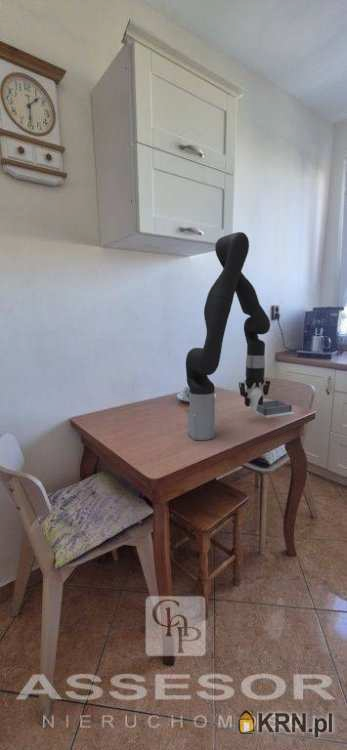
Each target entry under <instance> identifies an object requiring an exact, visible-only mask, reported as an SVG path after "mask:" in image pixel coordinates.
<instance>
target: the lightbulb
mask: <svg viewBox="0 0 347 750" xmlns="http://www.w3.org/2000/svg"><path fill="white" fill-rule="evenodd" d="M248 390H250V389H249V388H248ZM247 394H248V392H247ZM261 395H262V391H261V389H260V388H259V387H254V389H253V391H252V393H250V408H251V410H250V411H252V412H254V411H255V410H257V405H258V401H259V399H260V397H261Z"/></svg>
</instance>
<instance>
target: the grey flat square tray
mask: <svg viewBox="0 0 347 750" xmlns="http://www.w3.org/2000/svg"><path fill="white" fill-rule="evenodd" d="M292 407H293V406H292V404H290V403H287V402H285V401H282V400H280V399H273V400H266V401H263V404H262V405H257V410H255V411H253V412H254V413H256V414H258V415H260V416H262V417H264V418H266V419H272V418H273V419H274V418H277V417H279V418H280V417H284V416H290V415H291V416H292V415H297V412H295V411H292V409H293V408H292ZM248 410H249V411H252V410H251V407H248Z"/></svg>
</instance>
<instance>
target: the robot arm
mask: <svg viewBox="0 0 347 750" xmlns="http://www.w3.org/2000/svg"><path fill="white" fill-rule="evenodd" d="M249 247H250V241H249V238H248V236H247V234H246V233H245V232H242V231H237V232H233V233H230V234H227V235H224V236H222V237H220V238H218V240H217V241H216V243H215V247H214V249H215V255H216V257H217V259H218V262H219V264H220V266H221V267H222V271H221V273H220V274H219V276H218V277H217V279H216V280H215V281H214V283H213V284H212V285H211V287H210V289H209V291H208V293H207V296H206V300H205V304H204V307H203V308H204V309H203V316H204V317H203V318H204V322H205V328H206V335H205V336H206V337H205V341H204V344H203V347H193V348H191V349H190V350H189V351H188V352H187V353H186V354H187V355H186V358H185V371H186V382H187V387H188V389H189V410H188V411H187V425H188V426H187V428H188V429H187V431H188V436H189V437H190V438H192V440H194V441H197V440H198V441H208V440H212V439H214V438H215V435H216V430H215V426H216V424H215V423H216V422H215V419H216V418H215V417H216V416H215V411H216V410H215V404H216V403H215V399H216V398H215V397H216V396H215V391H216V390H215V384H214V383H213V382H212V380H210V379H209V376H211V375H213V374H214V373H215V372H216V371H217V369H218V367H219V365H220V360H221V355H222V348H223V341H224V337H225V331H226V328H227V323H228V320H229V316H230V313H231V309H232V306H233V301H234V297H235V295H236V298H237V300H238V302H239V305H240V308H241V311H242V313H243V314H245V315H247V316H248V317H247V318H246V319H245V320H244V323H243V333H244V336H245V341H246V360H245V380H244V381H240V382H238V387H239V395H240V397H243V398H244V405H245V407H247V408H250V407H251V405H250V393H252V391H253V389H254V387H259V388H260V389H261V391H262V395H261V397H260V399H259V401H258V405H262V404H263V402H264V397H265V396H267V395H268V394H269V390H270V386H271V381H270V380H268V379H264V378H265V373H266V371H265V370H266V356H265V355H266V354H265V351H266V343H265V341H263V340H261V339H260V338H259V335H265V334H267V333H268V332H269V330H270V328H271V320H270V318H269V315H267V313H266V312H265V310H264V308H263V307H262V305H261V304H260V300H259V298H258V295H257V291H256V290H255V287H254V286H253V285H252V283H251V281H250V280H248V278H247V277H246V275H244V274H243V272H242V270H243V267H244V265H245V263H246V260H247V258H248V253H249V250H250V248H249ZM248 388H249V389H250V390H248ZM247 392H248V394H247Z"/></svg>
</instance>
